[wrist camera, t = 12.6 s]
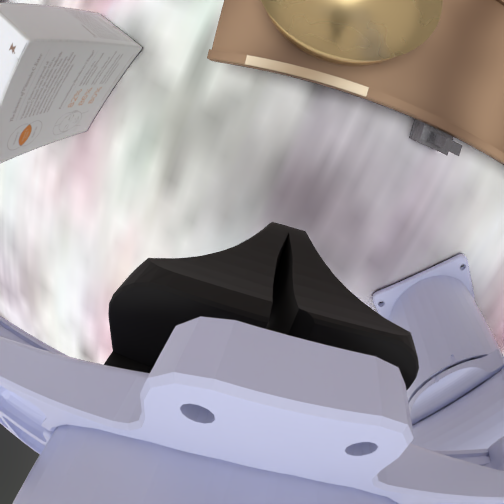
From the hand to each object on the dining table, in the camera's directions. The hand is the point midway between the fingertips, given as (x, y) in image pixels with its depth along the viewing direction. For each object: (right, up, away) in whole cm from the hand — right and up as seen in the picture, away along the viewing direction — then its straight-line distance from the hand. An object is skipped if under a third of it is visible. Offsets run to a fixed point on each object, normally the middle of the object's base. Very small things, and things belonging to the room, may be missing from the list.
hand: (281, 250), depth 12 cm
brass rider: (+3, +12, -1) cm, 13 cm away
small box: (-13, +13, +7) cm, 20 cm away
